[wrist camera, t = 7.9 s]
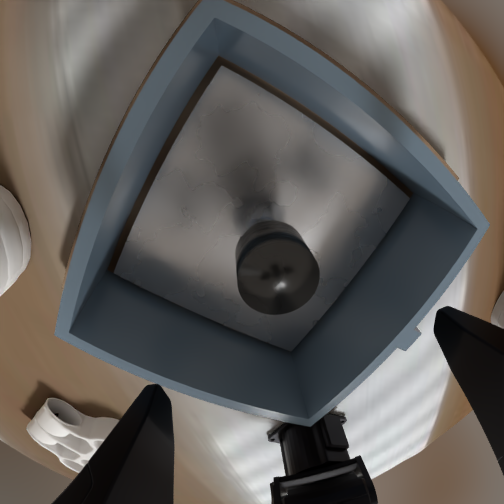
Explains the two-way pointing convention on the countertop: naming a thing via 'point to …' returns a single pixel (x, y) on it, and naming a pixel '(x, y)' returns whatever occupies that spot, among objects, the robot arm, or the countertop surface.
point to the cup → (498, 312)
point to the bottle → (12, 240)
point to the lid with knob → (257, 215)
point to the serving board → (262, 84)
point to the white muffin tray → (69, 432)
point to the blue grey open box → (348, 302)
